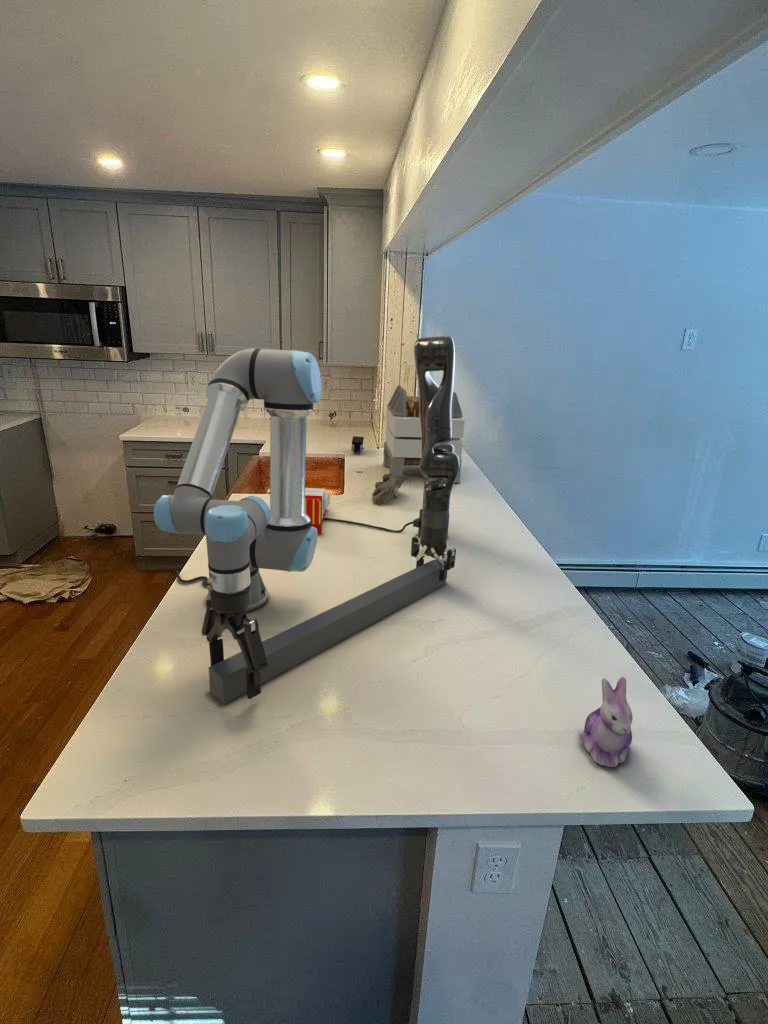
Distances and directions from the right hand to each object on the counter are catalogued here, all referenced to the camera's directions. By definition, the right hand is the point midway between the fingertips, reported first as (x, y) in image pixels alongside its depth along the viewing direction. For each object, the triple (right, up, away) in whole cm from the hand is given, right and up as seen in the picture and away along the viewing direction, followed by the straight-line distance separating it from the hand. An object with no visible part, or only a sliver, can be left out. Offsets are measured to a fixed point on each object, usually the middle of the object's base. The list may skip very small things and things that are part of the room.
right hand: (431, 576), depth 162 cm
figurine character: (-28, +51, +147) cm, 158 cm away
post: (-22, -10, -22) cm, 33 cm away
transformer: (+4, +37, +113) cm, 119 cm away
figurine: (+27, -26, -58) cm, 69 cm away
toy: (-40, +15, +46) cm, 63 cm away
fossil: (-12, +24, +75) cm, 80 cm away
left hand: (-44, -16, -47) cm, 66 cm away
